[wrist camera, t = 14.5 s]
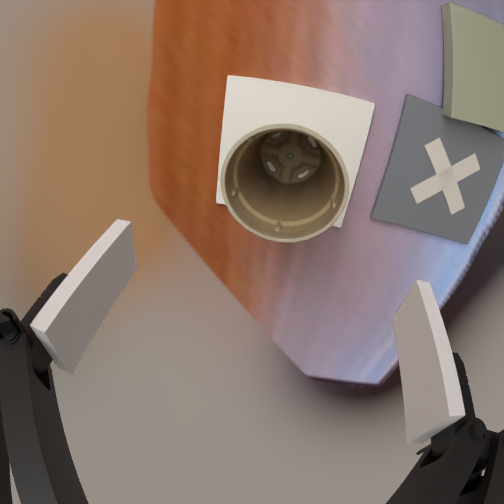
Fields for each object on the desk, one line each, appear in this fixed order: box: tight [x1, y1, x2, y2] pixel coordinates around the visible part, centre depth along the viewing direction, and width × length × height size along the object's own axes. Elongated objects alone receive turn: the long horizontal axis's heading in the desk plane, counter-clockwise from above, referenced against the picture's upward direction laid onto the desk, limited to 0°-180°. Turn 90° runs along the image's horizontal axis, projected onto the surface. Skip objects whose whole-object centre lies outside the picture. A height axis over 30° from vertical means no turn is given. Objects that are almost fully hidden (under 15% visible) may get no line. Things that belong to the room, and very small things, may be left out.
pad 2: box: [370, 94, 504, 244], centre depth 26 cm, size 14×14×1 cm
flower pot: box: [220, 124, 349, 243], centre depth 25 cm, size 9×9×9 cm
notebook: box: [441, 2, 504, 132], centre depth 18 cm, size 12×8×2 cm, turn 3°
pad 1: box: [216, 75, 375, 227], centre depth 28 cm, size 14×14×1 cm
